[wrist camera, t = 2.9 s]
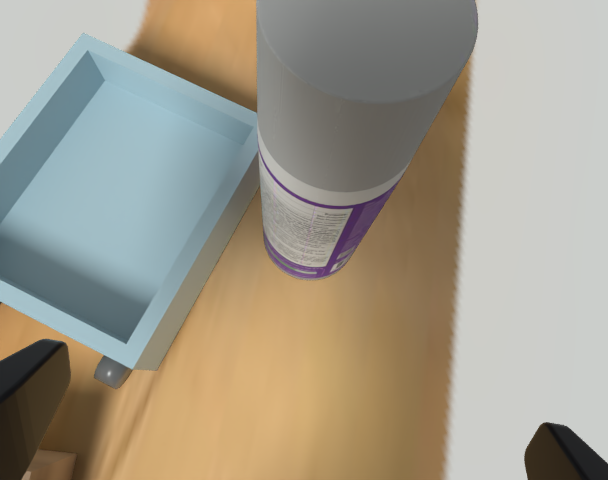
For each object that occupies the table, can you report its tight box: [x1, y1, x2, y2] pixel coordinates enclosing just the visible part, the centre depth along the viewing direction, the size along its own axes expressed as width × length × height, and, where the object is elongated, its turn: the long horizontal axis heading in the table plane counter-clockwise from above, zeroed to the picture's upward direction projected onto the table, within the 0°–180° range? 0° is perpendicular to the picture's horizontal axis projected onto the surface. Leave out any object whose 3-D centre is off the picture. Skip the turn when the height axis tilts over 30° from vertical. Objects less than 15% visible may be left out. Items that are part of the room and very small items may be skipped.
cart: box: [0, 33, 260, 389], centre depth 21 cm, size 15×10×4 cm
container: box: [256, 0, 478, 280], centre depth 16 cm, size 5×5×15 cm
